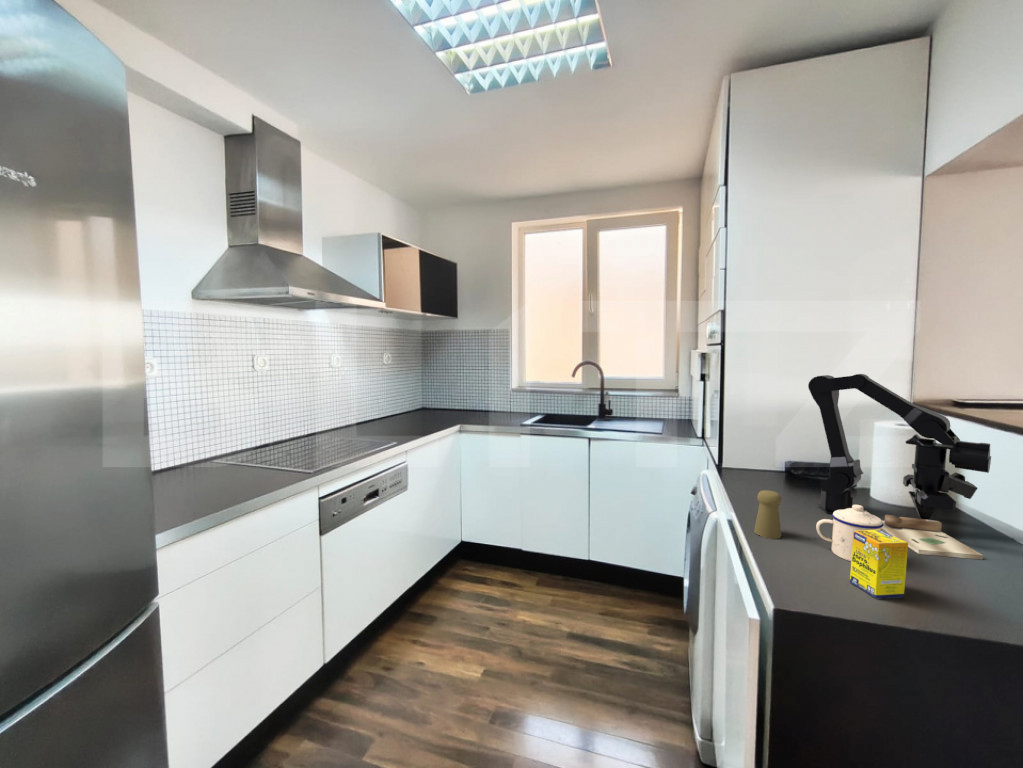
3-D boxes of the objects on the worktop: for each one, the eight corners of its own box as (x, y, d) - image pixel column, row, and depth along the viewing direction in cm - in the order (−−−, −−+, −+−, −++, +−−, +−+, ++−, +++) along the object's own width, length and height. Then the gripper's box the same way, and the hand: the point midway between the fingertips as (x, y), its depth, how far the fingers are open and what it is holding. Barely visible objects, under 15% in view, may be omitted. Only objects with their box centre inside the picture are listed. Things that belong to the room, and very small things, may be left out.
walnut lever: (887, 526, 113) (888, 518, 113) (882, 521, 116) (882, 513, 116) (943, 532, 109) (943, 523, 109) (935, 527, 112) (936, 519, 112)
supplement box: (848, 583, 89) (852, 530, 88) (876, 581, 89) (880, 529, 88) (875, 599, 83) (879, 543, 82) (905, 598, 83) (909, 541, 82)
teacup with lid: (877, 552, 102) (880, 503, 101) (884, 569, 94) (888, 516, 93) (814, 541, 108) (816, 494, 107) (816, 555, 100) (818, 505, 99)
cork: (785, 540, 109) (787, 496, 108) (758, 538, 110) (760, 494, 109) (776, 530, 114) (778, 488, 114) (750, 528, 116) (752, 487, 115)
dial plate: (918, 553, 101) (918, 549, 101) (874, 523, 119) (874, 519, 119) (982, 559, 98) (983, 554, 98) (927, 527, 116) (928, 523, 116)
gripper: (989, 478, 99) (983, 545, 101) (960, 458, 115) (955, 516, 117) (923, 471, 105) (918, 534, 107) (904, 453, 121) (900, 508, 123)
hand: (924, 523), depth 113 cm, fingers closed
